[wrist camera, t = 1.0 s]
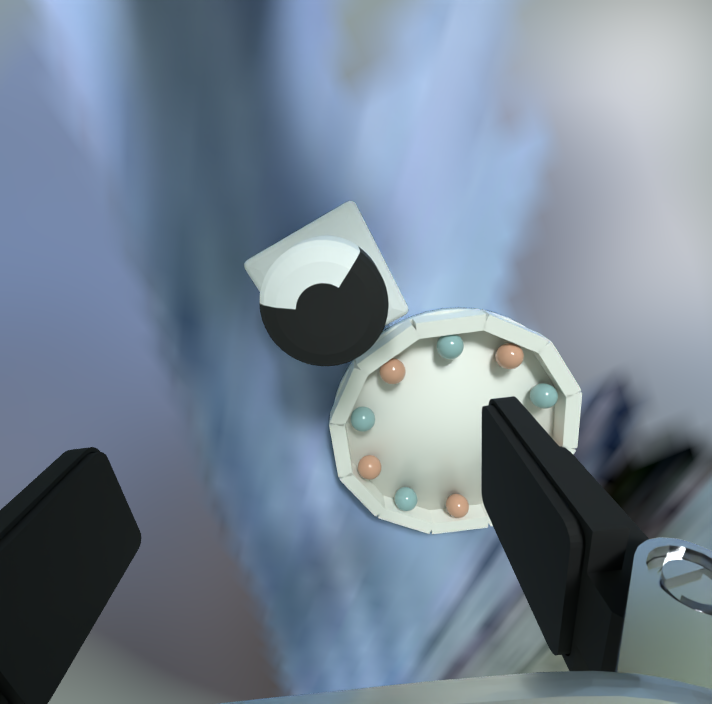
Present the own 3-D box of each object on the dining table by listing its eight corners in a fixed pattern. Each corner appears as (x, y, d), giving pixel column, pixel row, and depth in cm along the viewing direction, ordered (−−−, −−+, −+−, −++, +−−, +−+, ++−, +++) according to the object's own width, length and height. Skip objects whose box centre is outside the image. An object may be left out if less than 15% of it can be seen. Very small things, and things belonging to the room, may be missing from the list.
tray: (314, 325, 30) (311, 337, 27) (571, 291, 29) (595, 299, 27) (349, 522, 37) (349, 548, 34) (556, 497, 36) (574, 521, 34)
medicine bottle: (396, 289, 29) (428, 340, 18) (315, 332, 30) (297, 406, 19) (351, 200, 27) (355, 194, 16) (265, 251, 28) (211, 279, 17)
